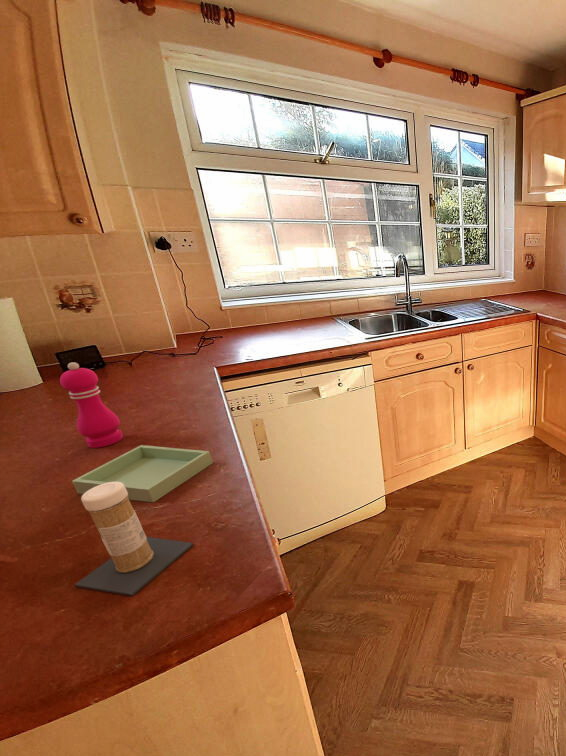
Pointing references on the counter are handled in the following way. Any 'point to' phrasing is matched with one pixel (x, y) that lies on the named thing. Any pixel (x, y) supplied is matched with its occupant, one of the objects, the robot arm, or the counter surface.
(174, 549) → the mat
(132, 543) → the sprinkles bottle
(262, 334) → the counter surface
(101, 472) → the tray
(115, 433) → the pepper mill
